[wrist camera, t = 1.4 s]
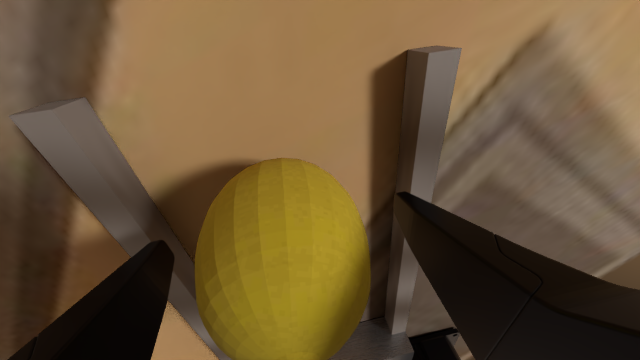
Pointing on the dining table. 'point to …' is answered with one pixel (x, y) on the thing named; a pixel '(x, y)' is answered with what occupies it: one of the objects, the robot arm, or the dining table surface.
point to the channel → (149, 225)
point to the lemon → (282, 264)
